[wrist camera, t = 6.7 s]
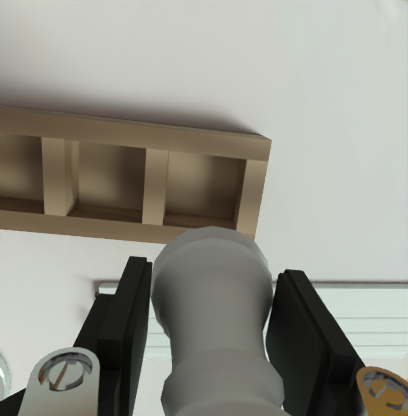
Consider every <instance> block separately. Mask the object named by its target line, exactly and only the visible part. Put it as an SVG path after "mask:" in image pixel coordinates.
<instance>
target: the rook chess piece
mask: <svg viewBox="0 0 408 416" xmlns="http://www.w3.org/2000/svg"><path fill="white" fill-rule="evenodd" d="M151 285H152V286H151V292H150V298H151V302H152V305H153V309H154V313H155V316H156V320H157V322H158V323H159V325H160V326H161V327H162V328H163V331H164V333H165V334H166V336H167V337H168V338H169V339H170V347H171V357H172V373H171V374H170V375H169V376H168V378H167V379H166V380H165V383H164V387H163V391H162V396H161V403H162V406H163V410H164V413H165V416H291V415H290V414H288V413H287V412H285V411H284V410H282V409H281V406H282V404H283V401H284V398H285V395H284V388H283V380H282V378H281V377H280V375H279V374H278V372H277V371H276V370H275V368H274V367H273V366H272V364H271V363H270V362H268V361H267V357H266V354H265V348H264V338H263V330H264V327H265V324H266V321H267V319H268V316H269V313H270V310H271V307H272V303H273V299H274V292H273V284H272V276H271V273H270V271H269V269H268V261H267V260H266V258H265V256H264V255H263V253H262V252H261V250H260V249H259V247H258V246H257V244H256V243H255V242H253V241H252V240H250V239H249V238H247V237H246V236H244V235H243V234H241V233H240V232H238V231H237V230H232V229H226V228H221V227H216V226H209V227H203V228H198V229H192V230H188V231H186V232H184V233H183V234H181V235H180V236H178V237H176V238H175V239H173V240H171V241H170V242H168V243H167V245H166V246H165V247H164V249H163V250H162V252H161V253H160V254H159V256H158V257H157V258H156V260H155V262H154V267H153V273H152V278H151Z"/></svg>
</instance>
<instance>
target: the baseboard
mask: <svg viewBox="0 0 408 416" xmlns="http://www.w3.org/2000/svg"><path fill="white" fill-rule="evenodd" d="M118 284H119V283H116V282H101V284H100V286H99V293H104V294H115V292H116V289H117V287H118ZM272 284H273V292H274V294H275V289H276V284H277V283H272ZM311 284H312V286H313V287H314V289H315V290H316V292H317V293H318V295H319V296H320V298H321V299H322V301H323V303H324V304H325V306H326V307H327V309H328V310H329V312H330V313H331V314H332V315H333V317H334V318H335V320H336V321H337V323H338V325H339V326H340V328H341V329H342V331H343V332H344V334H345V335H346V337H347V338H348V340H349V341H350V343H351V345H352V346H353V348H354V349H355V351H356V352H357V354H358V355H359V357H360V358H405V356H406V354H407V353H408V284H366V283H311ZM151 286H152V285H151ZM95 297H96V298H97V292H96V295H95ZM271 308H272V307H271ZM270 313H271V310H270ZM270 313H269V316H268V319H267V321H266V324H265V327H264V330H263V338H264V348H265V354H266V357H267V359H269V357H268V354H267V351H266V346H265V338H266V333H267V328H268V323H269V318H270ZM167 359H172V357H171V347H170V339H169V338H168V337H167V336H166V334H165V333H164V331H163V328H162V327H161V326H160V325H159V323H158V322H157V320H156V316H155V313H154V309H153V305H152V302H151V298H150V307H149V321H148V333H147V340H146V346H145V351H144V356H143V360H167Z"/></svg>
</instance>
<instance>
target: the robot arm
mask: <svg viewBox="0 0 408 416" xmlns="http://www.w3.org/2000/svg"><path fill="white" fill-rule="evenodd" d="M151 278H152V262H147V258H146V257H134V256H130V257H129V259H128V262H127V264H126V267H125V269H124V272H123V274H122V277H121V279H120V282H119V284H118V287H117V289H116V292H115V294H104V293H99V294H98V296H97V298H96V300H95V302H94V304H93V306H92V308H91V310H90V312H89V314H88V316H87V318H86V320H85V322H84V324H83V326H82V328H81V331H80V333H79V335H78V337H77V339H76V341H75V343H74V345H73V347H69V348H64V349H59V350H57V351H54V352H52V353H50V354H48V355H47V356H45V357H44V358H42V359H41V360H40V361H39V362H38V363H37V364H36V365H35V367H34V369H33V370H32V372H31V375H30V378H29V381H28V384H27V388H25V389H23V390H21V391H19V392H17V393H15V394H13V395H11V396H9V397H7V396H8V394H9V389H10V374H9V371H8V368H7V365H6V363H5V362H4V360H3V358H2V357H1V355H0V416H132V414H133V409H134V404H135V399H136V393H137V388H138V383H139V378H140V372H141V367H142V362H143V356H144V351H145V346H146V340H147V333H148V321H149V307H150V292H151ZM265 346H266V351H267V354H268V357H269V361H270V363H271V364H272V366H273V367H274V368H275V370H276V371H277V372H278V374H279V375H280V377H281V378H282V380H283V388H284V395H285V398H284V401H283V404H282V405H283V408H284V411H285V412H287V413H288V414H290V415H291V416H408V382H407V381H406V380H404V379H403V378H401V377H400V376H398V375H397V374H395V373H393V372H391V371H389V370H386V369H383V368H379V367H372V366H369V367H366V366H365V365H364V363H363V361H362V360H361V358H360V357H359V355H358V354H357V352H356V351H355V349H354V348H353V346H352V345H351V343H350V341H349V340H348V338H347V337H346V335H345V334H344V332H343V331H342V329H341V328H340V326H339V325H338V323H337V321H336V320H335V318H334V317H333V315H332V314H331V313H330V312H329V310H328V309H327V307H326V306H325V304H324V303H323V301H322V299H321V298H320V296H319V295H318V293H317V292H316V290H315V289H314V287H313V286H312V284H311V282H310V281H309V279H308V278H307V276H306V275H305V273H304V272H303V271H301V270H289V269H286V270H285V271H284V273H279V275H278V279H277V284H276V289H275V294H274V299H273V303H272V308H271V313H270V318H269V323H268V328H267V333H266V338H265Z"/></svg>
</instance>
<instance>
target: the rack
mask: <svg viewBox="0 0 408 416" xmlns="http://www.w3.org/2000/svg"><path fill="white" fill-rule="evenodd" d="M271 142H272V140H270V139H268V138H266V137H264V136H262V135H256V134H247V133H238V132H229V131H221V130H212V129H203V128H194V127H186V126H177V125H168V124H159V123H151V122H142V121H133V120H124V119H115V118H107V117H98V116H89V115H80V114H72V113H63V112H54V111H45V110H37V109H28V108H19V107H10V106H2V105H0V229H4V230H15V231H26V232H38V233H49V234H60V235H71V236H82V237H93V238H104V239H115V240H126V241H137V242H148V243H160V244H167V243H168V242H170V241H171V240H173V239H175V238H176V237H178V236H180V235H181V234H183V233H184V232H186V231H188V230H192V229H198V228H203V227H209V226H216V227H221V228H226V229H232V230H237V231H238V232H240V233H241V234H243V235H244V236H246V237H247V238H249V239H250V240H252V241H253V242H254V239H255V233H256V227H257V222H258V216H259V210H260V205H261V199H262V193H263V188H264V182H265V176H266V171H267V165H268V159H269V153H270V148H271Z"/></svg>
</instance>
